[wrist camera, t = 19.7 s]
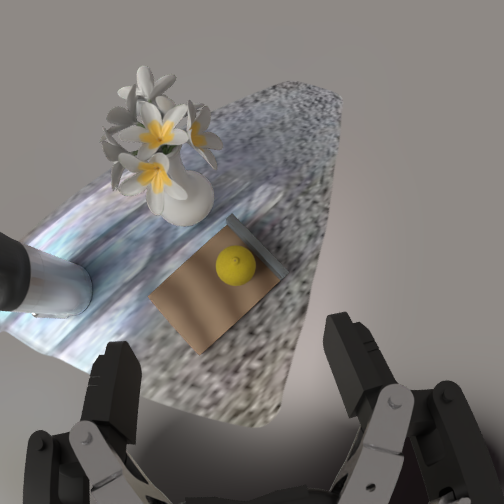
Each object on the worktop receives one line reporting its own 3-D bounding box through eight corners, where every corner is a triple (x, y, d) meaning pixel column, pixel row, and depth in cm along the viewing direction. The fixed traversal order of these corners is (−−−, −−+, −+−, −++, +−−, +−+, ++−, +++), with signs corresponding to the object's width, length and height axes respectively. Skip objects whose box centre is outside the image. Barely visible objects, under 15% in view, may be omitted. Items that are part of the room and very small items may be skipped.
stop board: (200, 354, 42) (196, 358, 38) (150, 297, 44) (141, 295, 39) (284, 276, 45) (289, 272, 41) (232, 222, 47) (232, 213, 42)
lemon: (236, 245, 45) (235, 230, 37) (261, 270, 44) (266, 260, 36) (210, 270, 44) (204, 260, 36) (236, 296, 43) (235, 292, 35)
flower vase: (195, 147, 50) (171, 40, 25) (245, 230, 47) (252, 143, 22) (132, 181, 48) (69, 91, 23) (175, 269, 45) (109, 220, 20)
